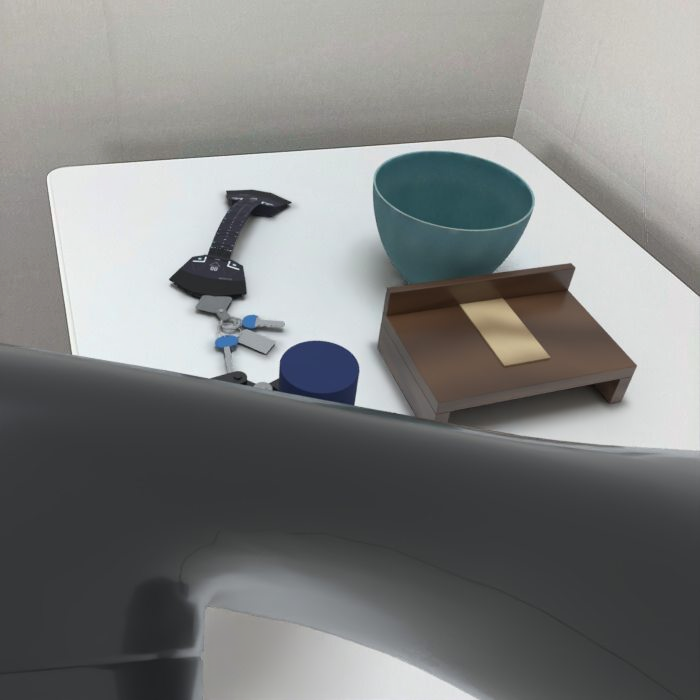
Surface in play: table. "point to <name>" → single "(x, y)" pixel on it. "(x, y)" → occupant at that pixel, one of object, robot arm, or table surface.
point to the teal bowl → (448, 214)
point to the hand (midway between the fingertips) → (344, 400)
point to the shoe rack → (496, 341)
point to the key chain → (251, 322)
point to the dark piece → (217, 268)
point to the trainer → (319, 372)
